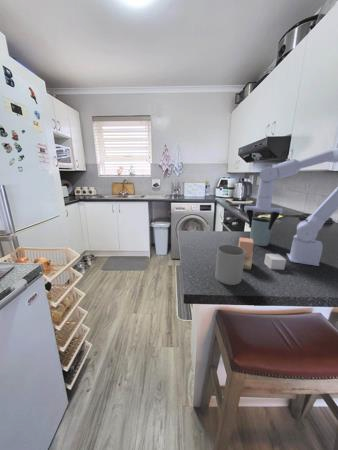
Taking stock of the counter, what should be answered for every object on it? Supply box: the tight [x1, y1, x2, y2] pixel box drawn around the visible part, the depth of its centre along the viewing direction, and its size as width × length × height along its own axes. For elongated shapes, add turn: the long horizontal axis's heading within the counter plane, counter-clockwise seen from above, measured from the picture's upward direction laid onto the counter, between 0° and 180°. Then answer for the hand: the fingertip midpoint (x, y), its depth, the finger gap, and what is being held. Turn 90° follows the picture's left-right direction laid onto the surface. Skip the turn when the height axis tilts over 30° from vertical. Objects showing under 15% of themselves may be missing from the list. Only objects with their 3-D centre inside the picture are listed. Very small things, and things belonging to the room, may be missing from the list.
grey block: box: [263, 253, 287, 271], centre depth 71 cm, size 5×5×4 cm
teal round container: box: [249, 217, 274, 247], centre depth 93 cm, size 10×10×12 cm
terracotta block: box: [237, 237, 254, 258], centre depth 70 cm, size 4×4×6 cm
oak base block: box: [243, 253, 254, 270], centre depth 72 cm, size 6×6×4 cm
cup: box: [214, 244, 245, 286], centre depth 61 cm, size 8×8×10 cm
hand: (259, 228), depth 83 cm, fingers open, 7 cm apart
